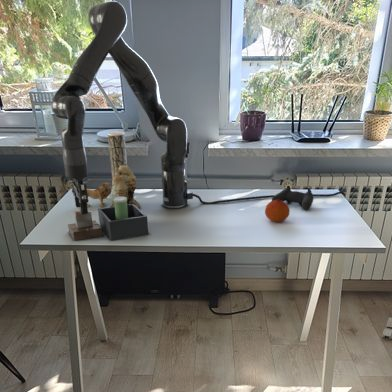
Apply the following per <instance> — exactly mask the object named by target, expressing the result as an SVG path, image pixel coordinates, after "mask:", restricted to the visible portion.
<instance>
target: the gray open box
mask: <svg viewBox="0 0 392 392" xmlns="http://www.w3.org/2000/svg"><path fill="white" fill-rule="evenodd" d="M127 210H128V219H121V220H116V215H115V206H114V207H110V206H108V207H102V208H97V214H98V224H99V226H100V227H101V228H102V232H104V233H105V234H106V236H107V238H108V239H110V241H116V240H122V239H128V238H134V237H141V236H146V235H149V225H148V224H149V222H148V215H146V213H145V212H143V211H142V210H141V209H140V207H139V208H137V207H136V206H135V205H134V204H128V205H127Z"/></svg>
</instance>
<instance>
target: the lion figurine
mask: <svg viewBox="0 0 392 392" xmlns="http://www.w3.org/2000/svg"><path fill="white" fill-rule="evenodd" d="M112 193H113V190H112V184H111V183H109V182H103V183H102V184H101V185H100V186H98V187H97V188H95V189H90V188H87V195H88V198H90V199H93V200H99V203H100V206H101V207H102V208H105V203H104V200H105V199H108V197H109V196H110V195H111V194H112ZM82 199H85V198H84V197H82ZM90 206H91V205H90V204H89V203H87V208H89V207H90Z"/></svg>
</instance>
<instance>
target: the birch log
mask: <svg viewBox="0 0 392 392" xmlns="http://www.w3.org/2000/svg"><path fill="white" fill-rule="evenodd" d="M125 136H126V135H125V131H120V130H117V131H116V130H113V131H108V132H107V141H108V142H107V143H108V150H109V161H110V170H111V179H112V180H111V181H113V177H115V176H119V174H118V168H119V167H120V166H123V165H125V166H127V167H128V160H127V148H126V137H125Z"/></svg>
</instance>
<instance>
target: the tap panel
mask: <svg viewBox="0 0 392 392" xmlns="http://www.w3.org/2000/svg"><path fill="white" fill-rule="evenodd" d="M92 222H93V226H89V227H82V228H77V227H76V222H75V223H68V224H67V228H68V233H69V234H70V236H71V237H72V239H73V241H82V240H87V239H93V238H100V237H103V230H102V228H101V227H100V223H99V222H97V220H94V219H93V220H92Z"/></svg>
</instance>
